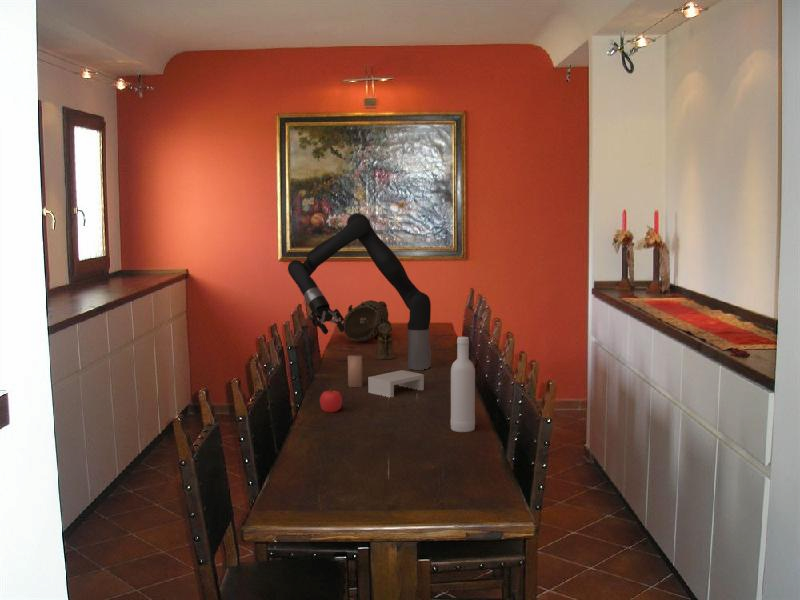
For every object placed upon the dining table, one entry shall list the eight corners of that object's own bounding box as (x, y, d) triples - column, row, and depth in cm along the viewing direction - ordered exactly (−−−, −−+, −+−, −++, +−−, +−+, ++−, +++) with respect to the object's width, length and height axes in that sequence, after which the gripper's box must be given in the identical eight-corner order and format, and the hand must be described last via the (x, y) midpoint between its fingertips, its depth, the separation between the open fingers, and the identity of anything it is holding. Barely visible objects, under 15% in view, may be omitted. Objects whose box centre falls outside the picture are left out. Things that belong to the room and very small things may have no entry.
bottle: (458, 433, 283) (458, 340, 279) (445, 427, 289) (445, 336, 286) (479, 430, 286) (480, 338, 282) (466, 424, 293) (467, 334, 289)
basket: (344, 308, 478) (331, 307, 444) (382, 290, 476) (371, 287, 442) (363, 348, 476) (351, 349, 442) (401, 330, 474) (392, 330, 439)
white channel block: (401, 385, 352) (401, 370, 352) (423, 389, 344) (423, 374, 343) (368, 392, 340) (368, 377, 339) (390, 397, 331) (390, 381, 331)
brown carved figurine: (375, 361, 400) (374, 322, 398) (375, 356, 413) (375, 317, 411) (394, 361, 400) (394, 322, 398) (394, 356, 413) (394, 317, 411)
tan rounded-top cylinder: (355, 383, 355) (355, 354, 354) (365, 386, 351) (364, 356, 350) (345, 386, 351) (344, 356, 350) (354, 388, 347) (354, 358, 346)
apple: (333, 414, 307) (333, 392, 306) (315, 411, 311) (314, 389, 310) (346, 410, 314) (346, 387, 313) (328, 407, 318) (328, 385, 317)
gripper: (306, 296, 356) (325, 328, 350) (333, 293, 366) (352, 324, 360) (298, 308, 361) (317, 339, 354) (325, 305, 371) (344, 335, 364)
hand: (335, 332), depth 357 cm, fingers open, 8 cm apart
